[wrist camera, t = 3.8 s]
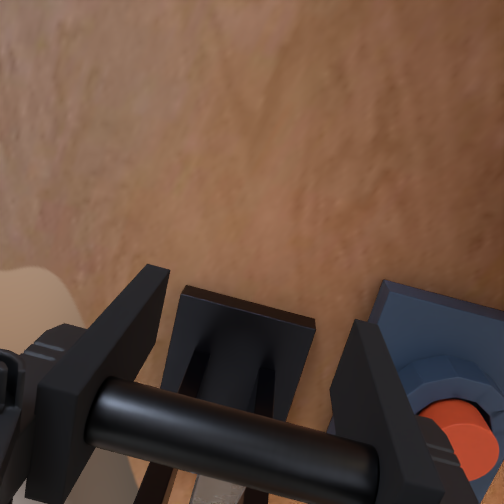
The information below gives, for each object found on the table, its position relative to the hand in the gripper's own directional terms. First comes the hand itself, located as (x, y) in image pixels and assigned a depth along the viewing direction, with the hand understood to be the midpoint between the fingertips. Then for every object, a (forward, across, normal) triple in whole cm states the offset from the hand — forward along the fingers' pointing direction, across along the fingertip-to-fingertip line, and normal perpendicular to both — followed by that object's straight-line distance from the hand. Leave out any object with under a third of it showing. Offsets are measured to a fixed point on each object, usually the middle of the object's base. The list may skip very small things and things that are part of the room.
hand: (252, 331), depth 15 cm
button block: (+12, +12, -7) cm, 18 cm away
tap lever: (-1, 0, -5) cm, 5 cm away
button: (+8, +12, -7) cm, 16 cm away
